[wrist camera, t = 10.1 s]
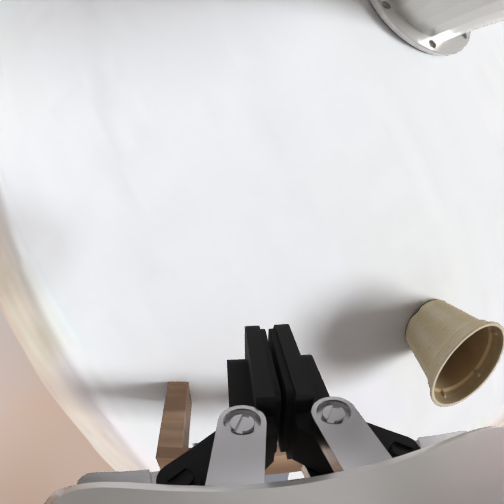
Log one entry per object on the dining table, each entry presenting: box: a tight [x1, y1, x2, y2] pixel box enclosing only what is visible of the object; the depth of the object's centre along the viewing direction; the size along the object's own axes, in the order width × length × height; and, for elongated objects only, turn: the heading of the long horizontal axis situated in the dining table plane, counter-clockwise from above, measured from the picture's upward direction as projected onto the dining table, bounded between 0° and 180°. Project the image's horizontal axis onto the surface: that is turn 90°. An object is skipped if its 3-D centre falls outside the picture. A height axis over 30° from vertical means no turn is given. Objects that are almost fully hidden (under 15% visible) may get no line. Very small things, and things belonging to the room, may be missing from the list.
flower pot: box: [406, 300, 504, 407], centre depth 26 cm, size 9×9×9 cm
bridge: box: [156, 382, 301, 475], centre depth 25 cm, size 3×15×10 cm, turn 90°
